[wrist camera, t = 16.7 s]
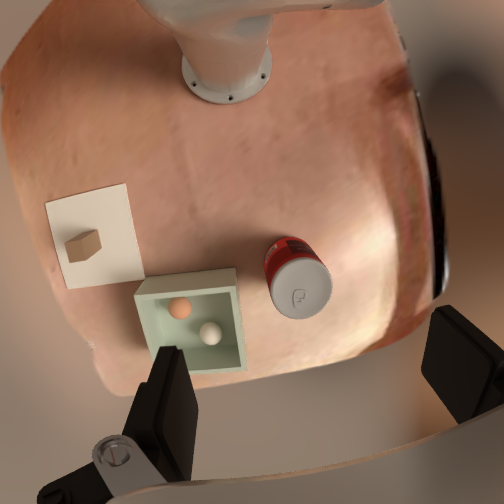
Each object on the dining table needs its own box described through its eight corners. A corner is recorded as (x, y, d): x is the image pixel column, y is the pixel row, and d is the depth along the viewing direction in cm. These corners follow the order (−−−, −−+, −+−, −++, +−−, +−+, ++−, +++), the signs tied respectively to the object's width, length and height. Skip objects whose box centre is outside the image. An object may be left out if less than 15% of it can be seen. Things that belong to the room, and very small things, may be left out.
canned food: (266, 289, 49) (274, 324, 39) (259, 239, 47) (266, 264, 36) (314, 281, 49) (334, 314, 39) (311, 232, 47) (331, 254, 36)
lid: (48, 202, 44) (24, 210, 37) (126, 182, 44) (109, 187, 37) (70, 286, 48) (51, 304, 42) (146, 277, 48) (134, 295, 42)
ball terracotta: (168, 292, 48) (163, 303, 44) (190, 290, 48) (187, 301, 44) (172, 313, 49) (168, 324, 45) (194, 311, 49) (192, 322, 45)
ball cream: (198, 319, 49) (196, 330, 46) (221, 317, 49) (220, 328, 46) (202, 338, 50) (200, 350, 47) (224, 336, 50) (223, 348, 47)
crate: (146, 276, 48) (133, 295, 41) (235, 267, 48) (235, 285, 41) (165, 351, 52) (157, 376, 45) (245, 345, 52) (247, 370, 45)
